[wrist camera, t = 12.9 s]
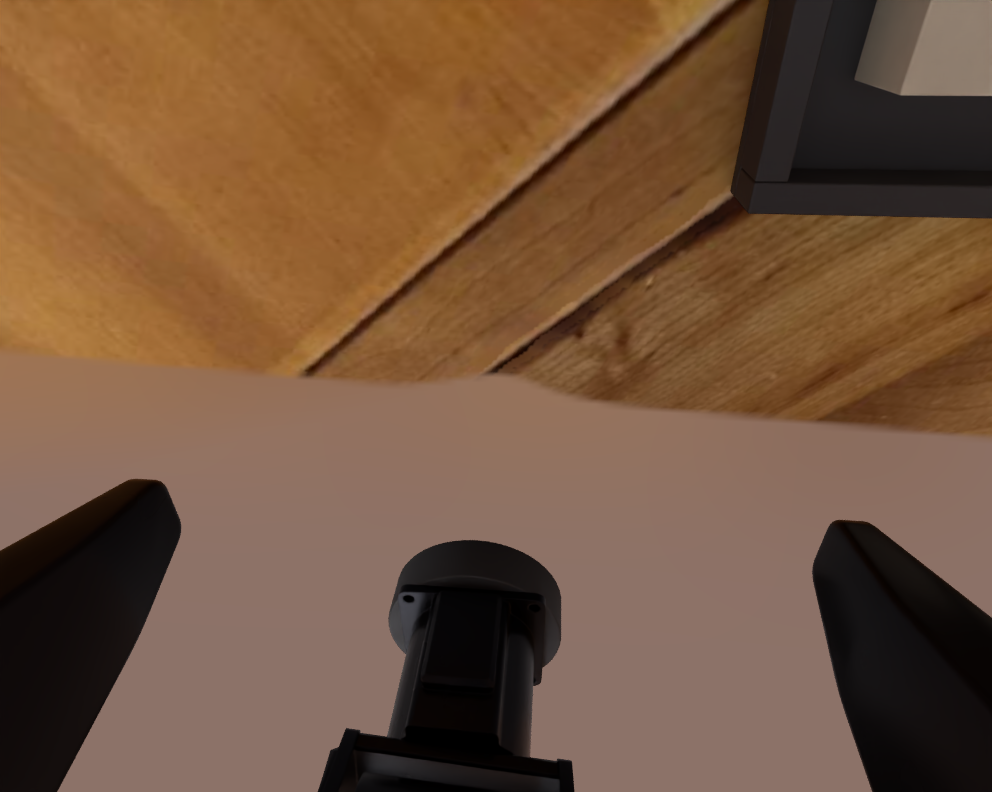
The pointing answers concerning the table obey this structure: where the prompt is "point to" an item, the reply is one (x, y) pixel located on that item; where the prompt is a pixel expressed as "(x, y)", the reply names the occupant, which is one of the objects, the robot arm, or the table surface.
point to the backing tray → (853, 129)
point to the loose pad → (929, 48)
